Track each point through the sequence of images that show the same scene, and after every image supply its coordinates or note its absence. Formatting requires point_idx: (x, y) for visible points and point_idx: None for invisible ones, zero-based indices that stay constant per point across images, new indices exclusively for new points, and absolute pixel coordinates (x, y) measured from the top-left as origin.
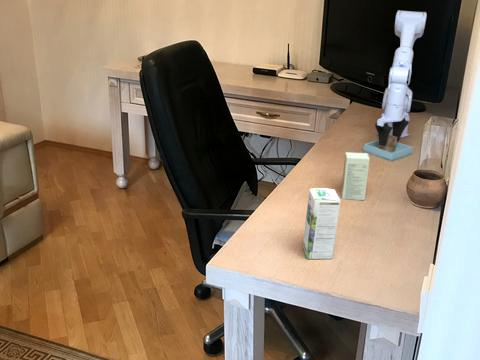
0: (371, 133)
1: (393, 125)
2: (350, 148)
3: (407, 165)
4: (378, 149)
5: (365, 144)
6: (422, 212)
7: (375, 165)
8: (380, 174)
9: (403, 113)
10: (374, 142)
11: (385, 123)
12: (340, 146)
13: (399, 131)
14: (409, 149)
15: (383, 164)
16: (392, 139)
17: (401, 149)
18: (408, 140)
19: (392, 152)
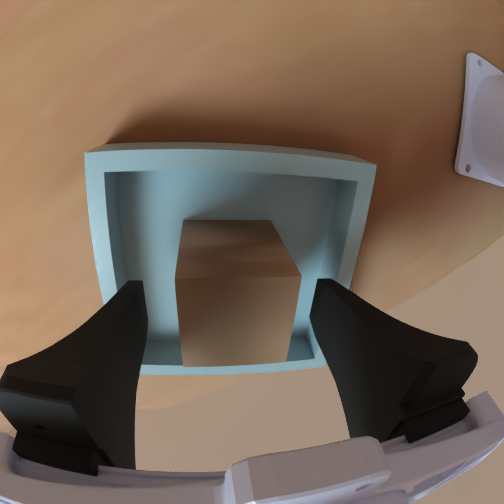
0: (459, 23)
1: (381, 349)
2: (80, 60)
3: (159, 391)
4: (100, 287)
5: (89, 166)
6: None
7: (26, 321)
8: (5, 366)
9: (476, 460)
10: (212, 169)
11: (84, 482)
12: (64, 4)
13: (342, 374)
14: (288, 366)
15: (65, 336)
16: (213, 361)
17: None
18: (479, 219)
19: None
